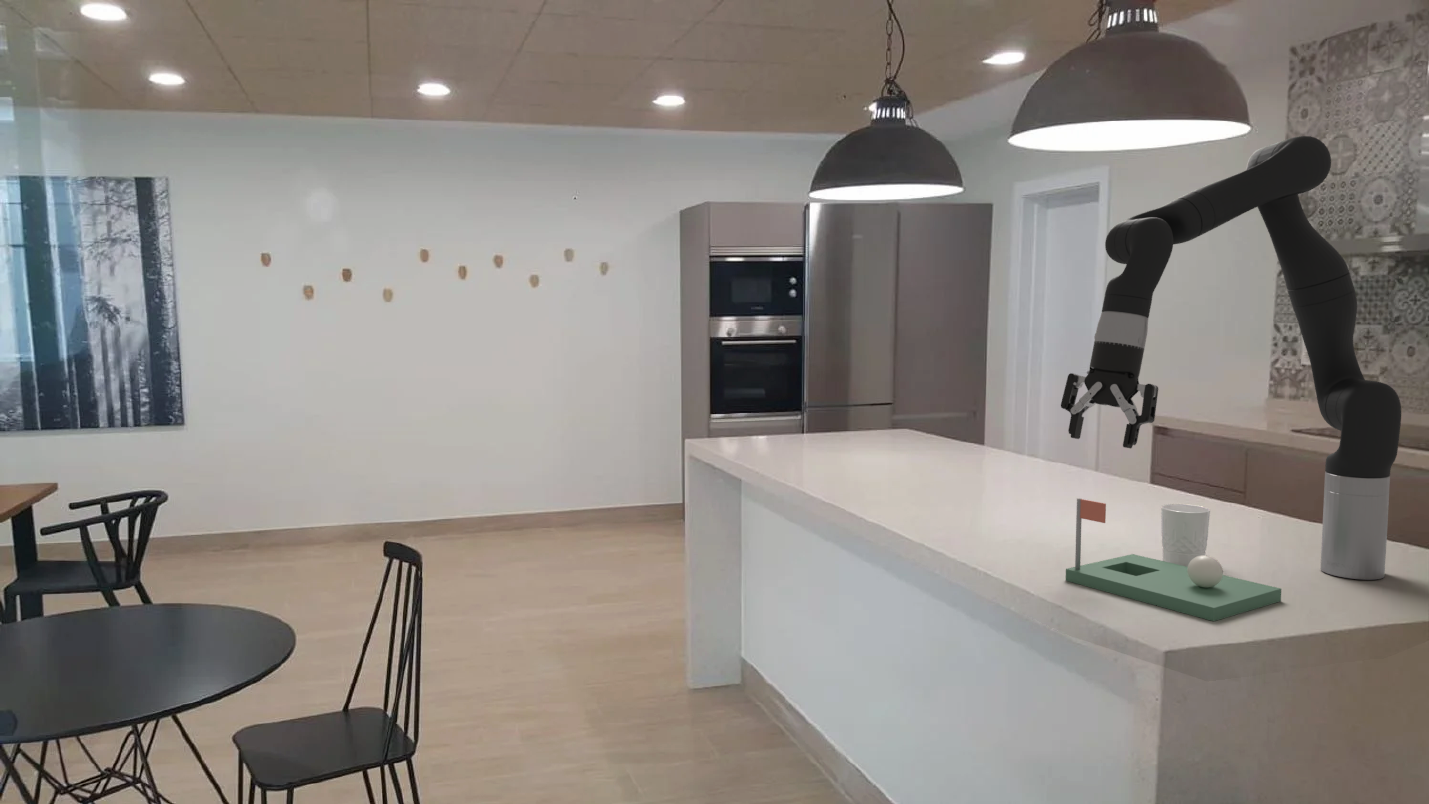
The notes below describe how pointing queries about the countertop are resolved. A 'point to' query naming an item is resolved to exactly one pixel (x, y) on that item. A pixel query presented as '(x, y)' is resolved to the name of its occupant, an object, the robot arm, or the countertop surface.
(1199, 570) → the ball
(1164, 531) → the white cup
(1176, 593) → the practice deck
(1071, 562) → the countertop surface
